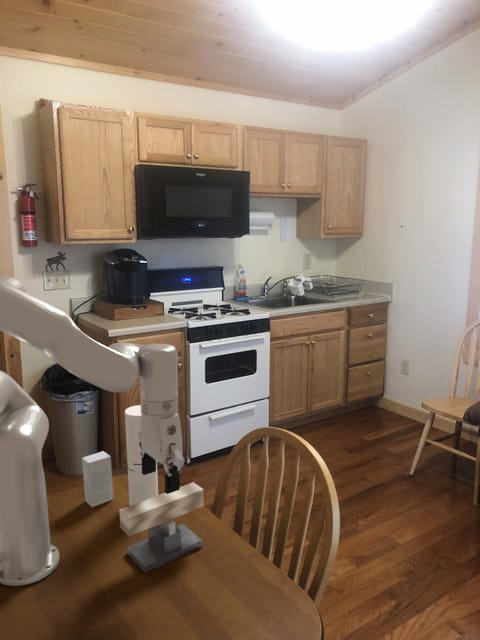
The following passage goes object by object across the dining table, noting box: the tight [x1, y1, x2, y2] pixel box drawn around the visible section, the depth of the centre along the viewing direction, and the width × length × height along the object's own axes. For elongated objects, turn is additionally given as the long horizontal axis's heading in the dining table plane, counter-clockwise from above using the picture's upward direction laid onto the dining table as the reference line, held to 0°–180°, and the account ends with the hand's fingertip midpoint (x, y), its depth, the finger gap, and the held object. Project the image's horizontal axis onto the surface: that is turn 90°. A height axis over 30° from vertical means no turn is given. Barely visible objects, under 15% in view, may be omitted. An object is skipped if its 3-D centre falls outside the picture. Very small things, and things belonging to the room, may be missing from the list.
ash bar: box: [119, 481, 205, 537], centre depth 111 cm, size 18×4×4 cm, turn 128°
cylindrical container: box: [124, 404, 159, 506], centre depth 128 cm, size 7×7×25 cm
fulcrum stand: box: [126, 519, 203, 574], centre depth 112 cm, size 14×8×8 cm, turn 128°
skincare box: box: [81, 450, 114, 508], centre depth 131 cm, size 6×4×12 cm
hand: (160, 481), depth 110 cm, fingers open, 9 cm apart
